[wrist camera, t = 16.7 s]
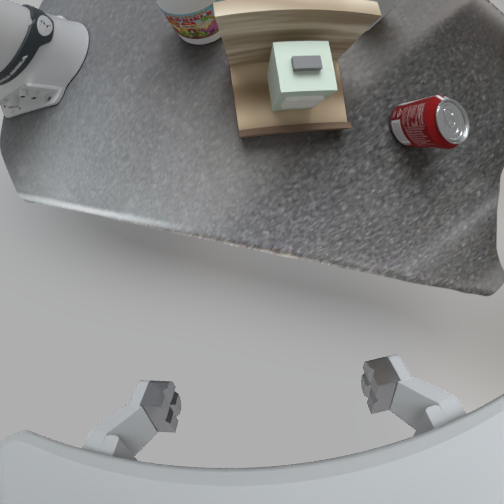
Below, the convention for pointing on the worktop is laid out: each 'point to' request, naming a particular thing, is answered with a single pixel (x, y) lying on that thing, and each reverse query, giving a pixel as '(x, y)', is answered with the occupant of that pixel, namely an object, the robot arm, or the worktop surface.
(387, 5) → the skincare box
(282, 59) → the mint juice carton
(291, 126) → the board
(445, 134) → the soda can
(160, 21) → the worktop surface
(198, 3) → the milk bottle
